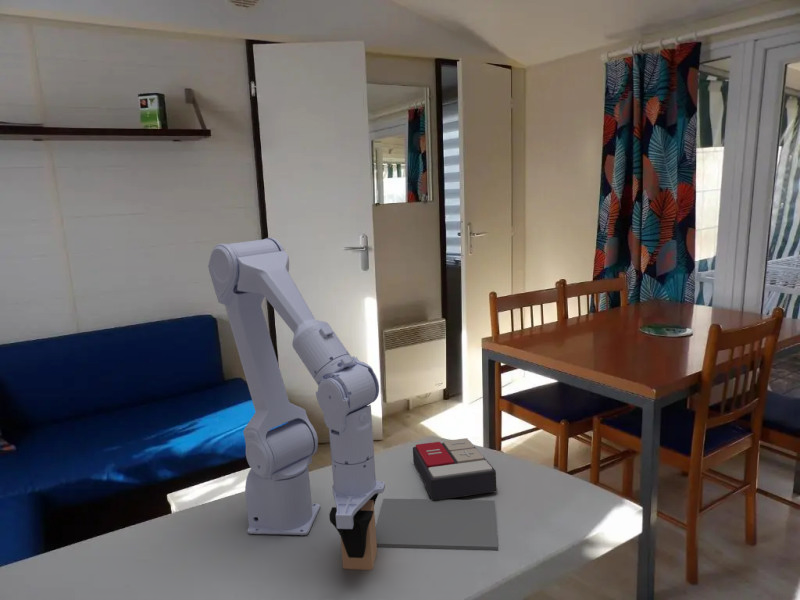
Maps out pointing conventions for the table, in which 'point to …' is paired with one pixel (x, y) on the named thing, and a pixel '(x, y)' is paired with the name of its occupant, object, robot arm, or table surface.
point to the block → (371, 545)
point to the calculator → (453, 469)
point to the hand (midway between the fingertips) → (359, 545)
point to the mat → (437, 524)
